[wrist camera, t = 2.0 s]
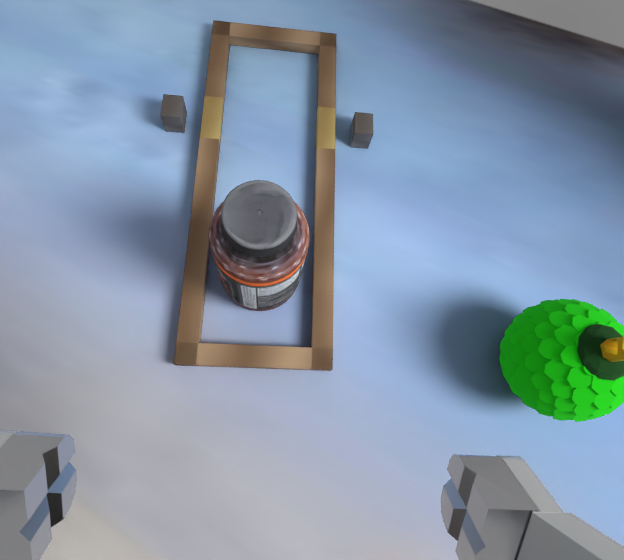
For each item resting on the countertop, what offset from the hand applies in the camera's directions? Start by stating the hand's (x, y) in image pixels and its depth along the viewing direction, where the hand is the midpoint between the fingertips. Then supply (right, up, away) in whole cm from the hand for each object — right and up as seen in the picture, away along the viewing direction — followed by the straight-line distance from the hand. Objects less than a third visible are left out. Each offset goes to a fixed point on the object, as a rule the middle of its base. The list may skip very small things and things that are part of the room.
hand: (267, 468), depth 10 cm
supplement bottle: (-3, +4, +24) cm, 25 cm away
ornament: (+18, -2, +25) cm, 30 cm away
